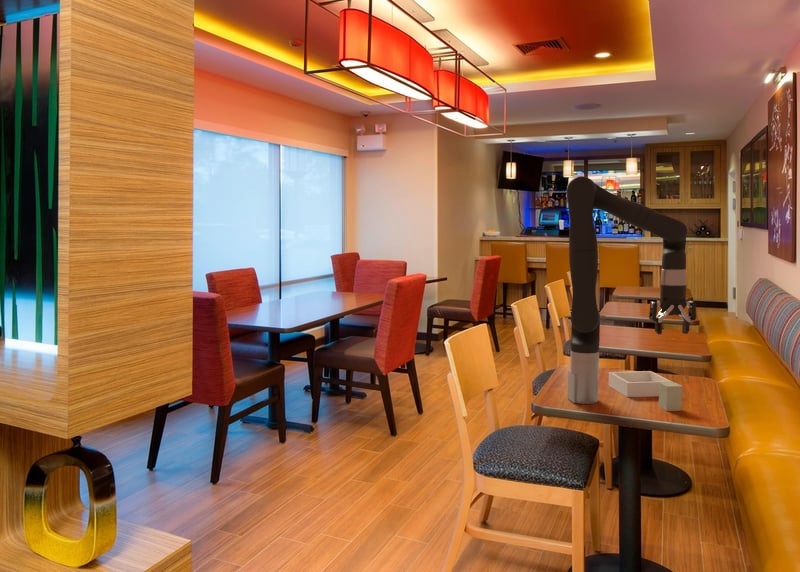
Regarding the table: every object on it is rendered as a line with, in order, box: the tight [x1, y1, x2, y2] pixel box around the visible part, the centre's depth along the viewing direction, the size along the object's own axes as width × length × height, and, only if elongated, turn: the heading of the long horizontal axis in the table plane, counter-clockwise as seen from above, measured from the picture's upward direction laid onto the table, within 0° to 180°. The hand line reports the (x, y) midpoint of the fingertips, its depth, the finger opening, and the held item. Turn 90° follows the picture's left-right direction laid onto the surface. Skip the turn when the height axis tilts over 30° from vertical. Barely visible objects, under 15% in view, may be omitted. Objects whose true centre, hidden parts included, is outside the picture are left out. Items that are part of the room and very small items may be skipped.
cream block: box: [658, 381, 683, 412], centre depth 198 cm, size 5×5×8 cm
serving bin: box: [608, 370, 673, 398], centre depth 220 cm, size 16×16×5 cm
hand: (672, 333), depth 196 cm, fingers open, 8 cm apart
